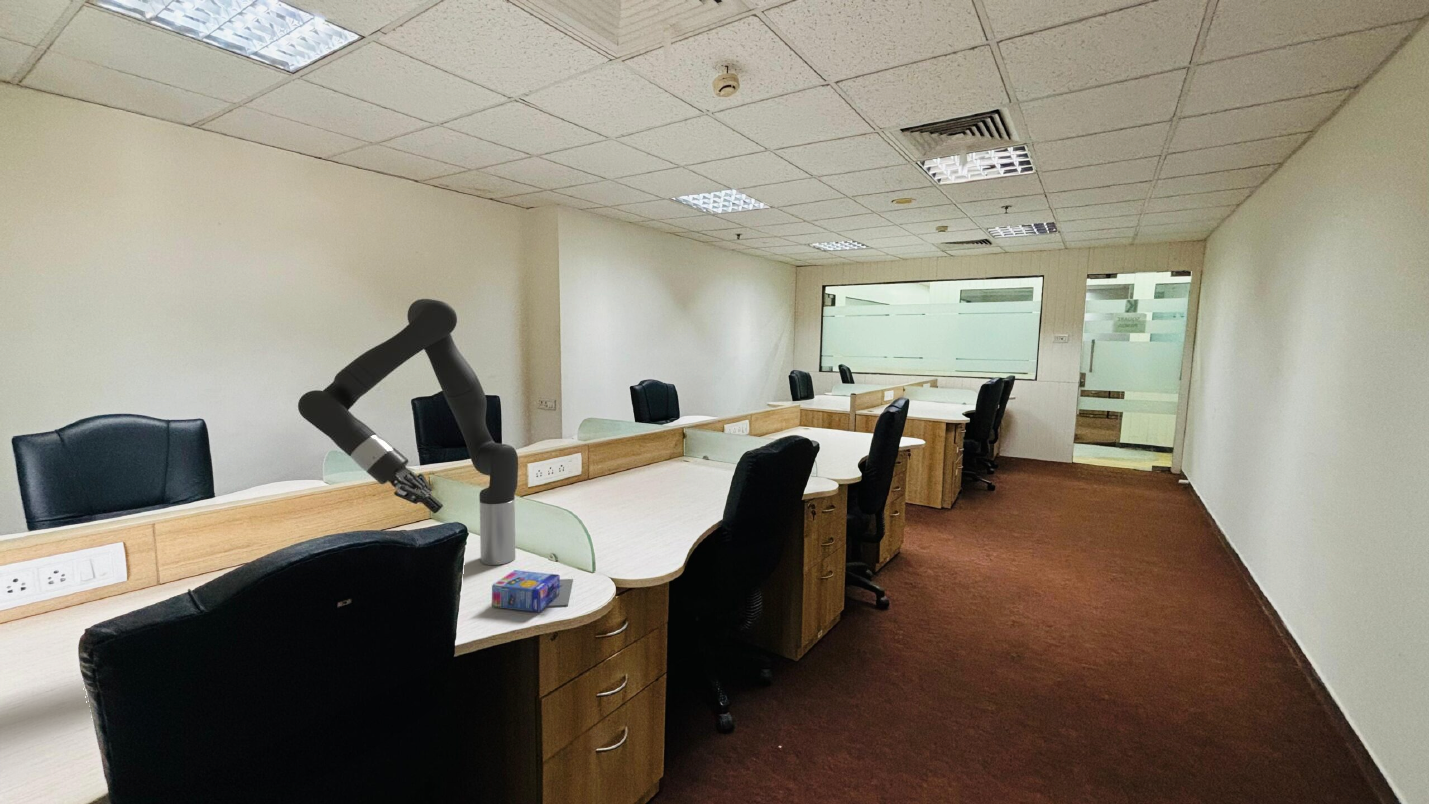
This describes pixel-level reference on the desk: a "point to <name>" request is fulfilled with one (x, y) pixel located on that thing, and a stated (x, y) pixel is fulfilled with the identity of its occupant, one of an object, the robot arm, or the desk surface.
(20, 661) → the desk surface
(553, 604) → the mat
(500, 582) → the ink cartridge box
